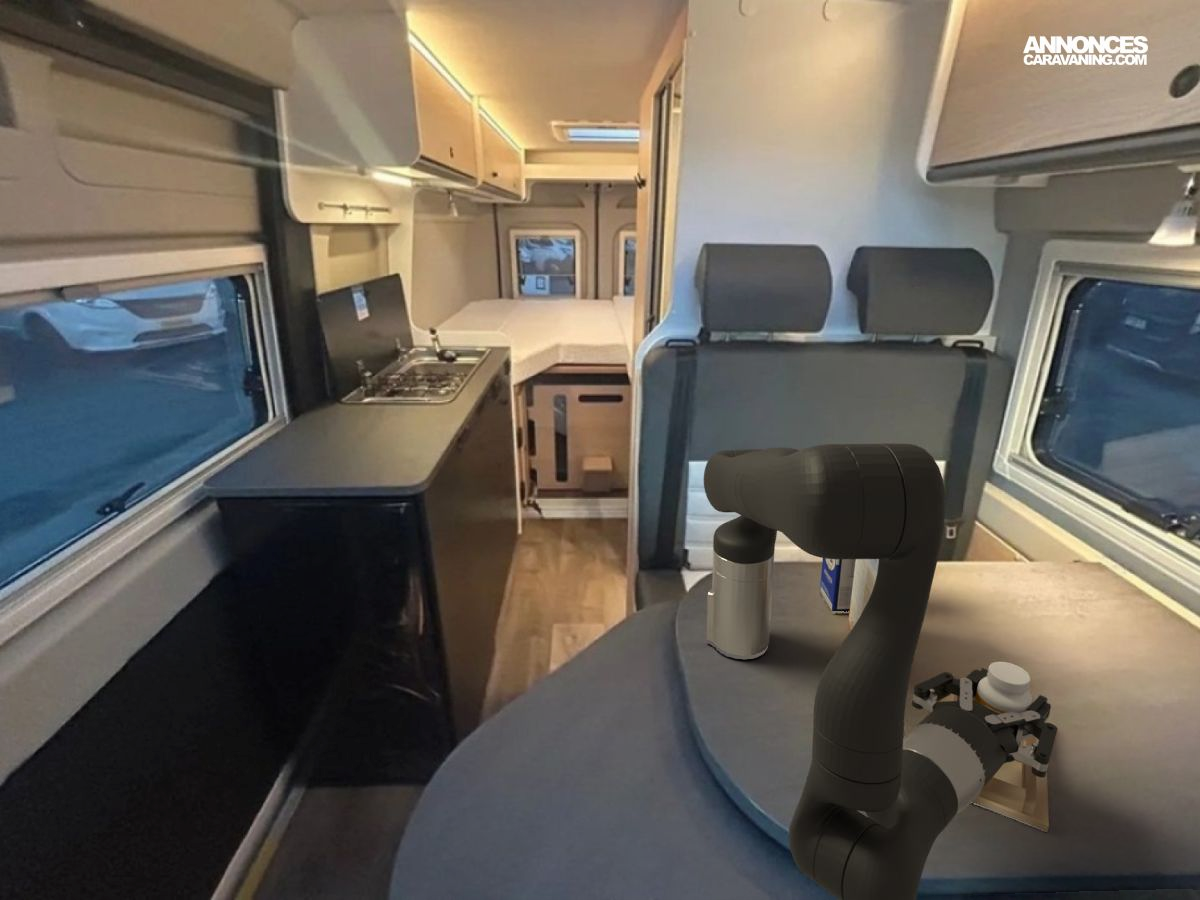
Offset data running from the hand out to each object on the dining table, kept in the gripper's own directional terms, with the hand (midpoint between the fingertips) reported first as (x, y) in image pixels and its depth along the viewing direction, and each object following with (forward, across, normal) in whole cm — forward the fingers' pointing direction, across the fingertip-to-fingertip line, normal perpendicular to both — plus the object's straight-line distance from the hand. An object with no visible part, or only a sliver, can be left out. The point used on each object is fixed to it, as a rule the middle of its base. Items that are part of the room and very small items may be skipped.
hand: (1012, 689), depth 73 cm
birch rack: (+1, +2, +12) cm, 12 cm away
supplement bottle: (-3, 0, +6) cm, 7 cm away
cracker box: (+10, +22, +12) cm, 27 cm away
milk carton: (+18, +32, +12) cm, 39 cm away
